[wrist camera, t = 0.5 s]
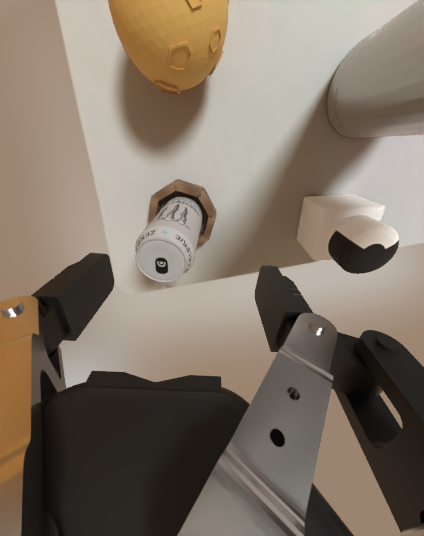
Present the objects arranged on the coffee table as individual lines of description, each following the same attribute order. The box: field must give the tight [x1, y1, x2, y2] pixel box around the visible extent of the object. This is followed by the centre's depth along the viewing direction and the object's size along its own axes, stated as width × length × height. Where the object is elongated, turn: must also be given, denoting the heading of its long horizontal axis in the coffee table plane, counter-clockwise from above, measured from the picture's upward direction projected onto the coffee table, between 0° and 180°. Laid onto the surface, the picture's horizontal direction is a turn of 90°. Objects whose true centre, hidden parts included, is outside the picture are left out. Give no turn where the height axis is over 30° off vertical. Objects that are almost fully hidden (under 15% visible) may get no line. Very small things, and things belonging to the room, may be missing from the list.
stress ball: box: [108, 0, 229, 94], centre depth 17 cm, size 10×10×10 cm
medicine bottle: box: [296, 194, 399, 274], centre depth 26 cm, size 7×7×12 cm
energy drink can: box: [136, 196, 203, 282], centre depth 25 cm, size 6×6×15 cm
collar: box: [148, 179, 216, 245], centre depth 30 cm, size 10×10×2 cm
